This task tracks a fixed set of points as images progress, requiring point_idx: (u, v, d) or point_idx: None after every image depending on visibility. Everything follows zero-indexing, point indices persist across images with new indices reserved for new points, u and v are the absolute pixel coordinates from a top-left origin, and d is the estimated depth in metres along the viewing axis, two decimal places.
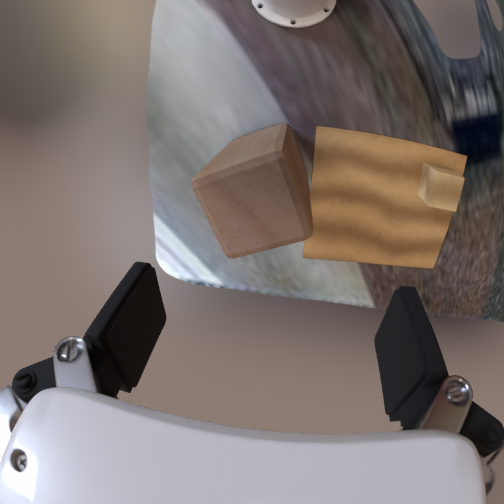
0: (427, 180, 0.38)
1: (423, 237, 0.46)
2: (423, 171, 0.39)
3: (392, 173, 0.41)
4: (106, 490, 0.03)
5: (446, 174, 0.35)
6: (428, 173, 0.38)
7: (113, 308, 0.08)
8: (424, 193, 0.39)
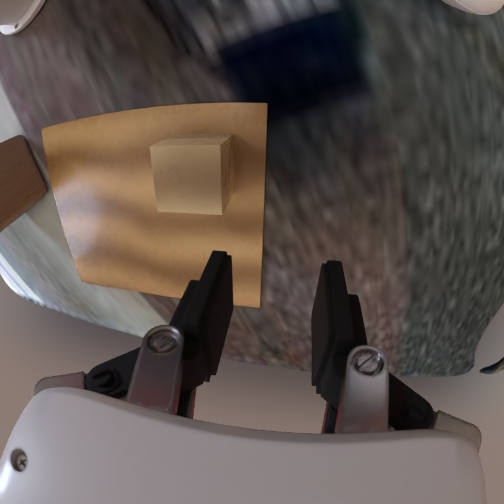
0: None
1: None
2: None
3: (128, 165, 0.27)
4: (106, 490, 0.03)
5: (173, 147, 0.21)
6: None
7: (205, 294, 0.09)
8: None
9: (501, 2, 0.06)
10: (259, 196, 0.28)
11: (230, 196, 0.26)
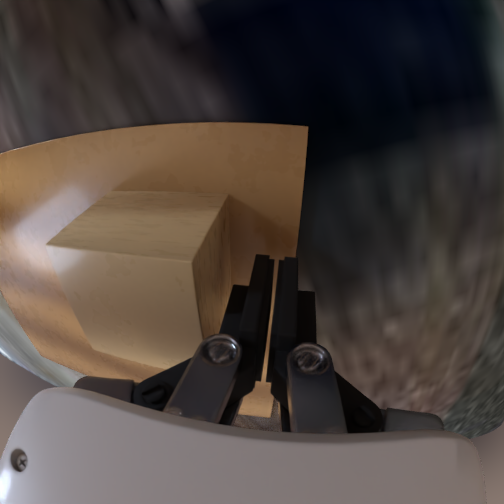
0: None
1: None
2: None
3: None
4: (106, 490, 0.03)
5: (84, 252, 0.08)
6: None
7: (258, 300, 0.09)
8: None
9: None
10: None
11: None
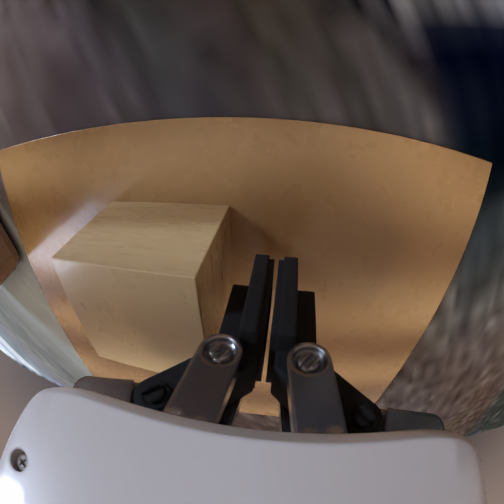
0: None
1: None
2: None
3: None
4: (106, 490, 0.03)
5: (90, 267, 0.09)
6: None
7: (258, 300, 0.09)
8: None
9: None
10: (429, 311, 0.14)
11: None
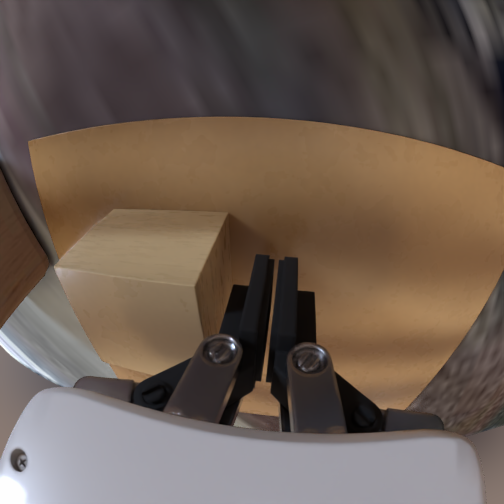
0: None
1: (378, 383, 0.19)
2: None
3: (264, 251, 0.13)
4: (106, 490, 0.03)
5: (93, 275, 0.09)
6: None
7: (258, 300, 0.09)
8: None
9: None
10: (475, 311, 0.14)
11: None
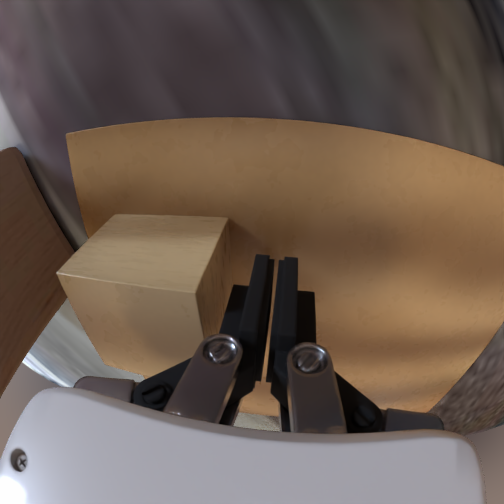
0: None
1: (416, 381, 0.18)
2: None
3: (337, 258, 0.13)
4: (106, 490, 0.03)
5: (95, 281, 0.09)
6: None
7: (258, 300, 0.09)
8: None
9: None
10: None
11: None
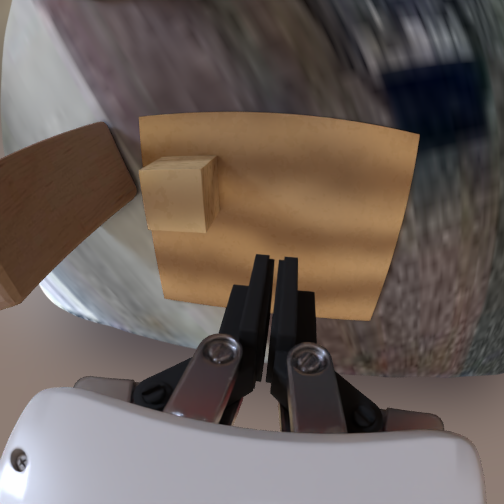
0: None
1: (345, 276, 0.32)
2: None
3: (268, 174, 0.27)
4: (106, 490, 0.03)
5: (159, 171, 0.23)
6: None
7: (258, 300, 0.09)
8: None
9: None
10: (399, 218, 0.27)
11: (215, 214, 0.28)
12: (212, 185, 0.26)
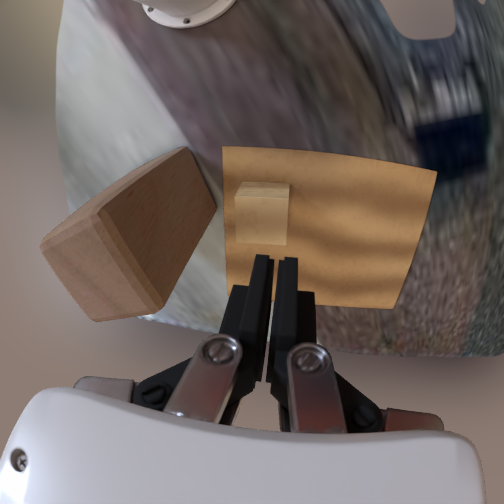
0: None
1: (377, 275, 0.40)
2: None
3: (328, 199, 0.35)
4: (106, 490, 0.03)
5: (253, 197, 0.31)
6: None
7: (258, 300, 0.09)
8: None
9: None
10: (418, 231, 0.35)
11: None
12: None
